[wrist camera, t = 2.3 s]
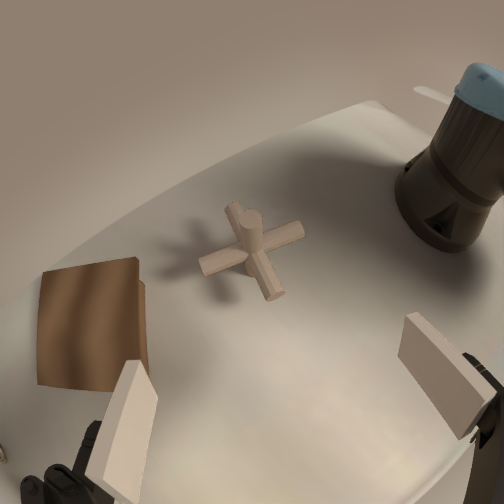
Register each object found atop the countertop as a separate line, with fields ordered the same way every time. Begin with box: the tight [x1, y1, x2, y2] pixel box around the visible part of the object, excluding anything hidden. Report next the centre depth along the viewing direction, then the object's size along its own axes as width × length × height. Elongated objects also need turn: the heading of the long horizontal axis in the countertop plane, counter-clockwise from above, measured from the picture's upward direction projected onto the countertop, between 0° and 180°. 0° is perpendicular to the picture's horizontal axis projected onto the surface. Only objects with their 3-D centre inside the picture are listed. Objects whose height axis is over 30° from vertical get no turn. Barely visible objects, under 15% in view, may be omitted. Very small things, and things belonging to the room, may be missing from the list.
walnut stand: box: [37, 257, 149, 392], centre depth 25 cm, size 13×13×5 cm
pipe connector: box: [198, 202, 305, 301], centre depth 26 cm, size 10×10×10 cm
